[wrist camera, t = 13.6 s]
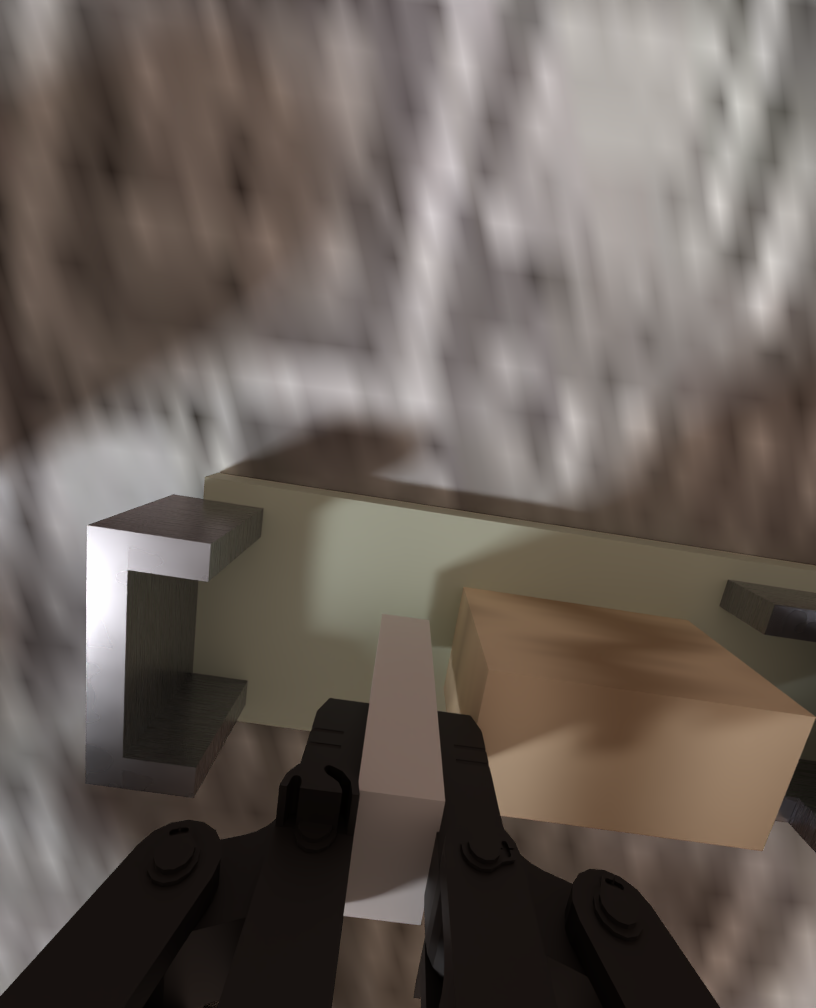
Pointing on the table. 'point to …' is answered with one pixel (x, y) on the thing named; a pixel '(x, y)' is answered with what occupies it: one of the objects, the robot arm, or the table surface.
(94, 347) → the table surface
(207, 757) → the cap
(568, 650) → the brown block
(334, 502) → the board
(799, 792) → the cap
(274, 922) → the robot arm
